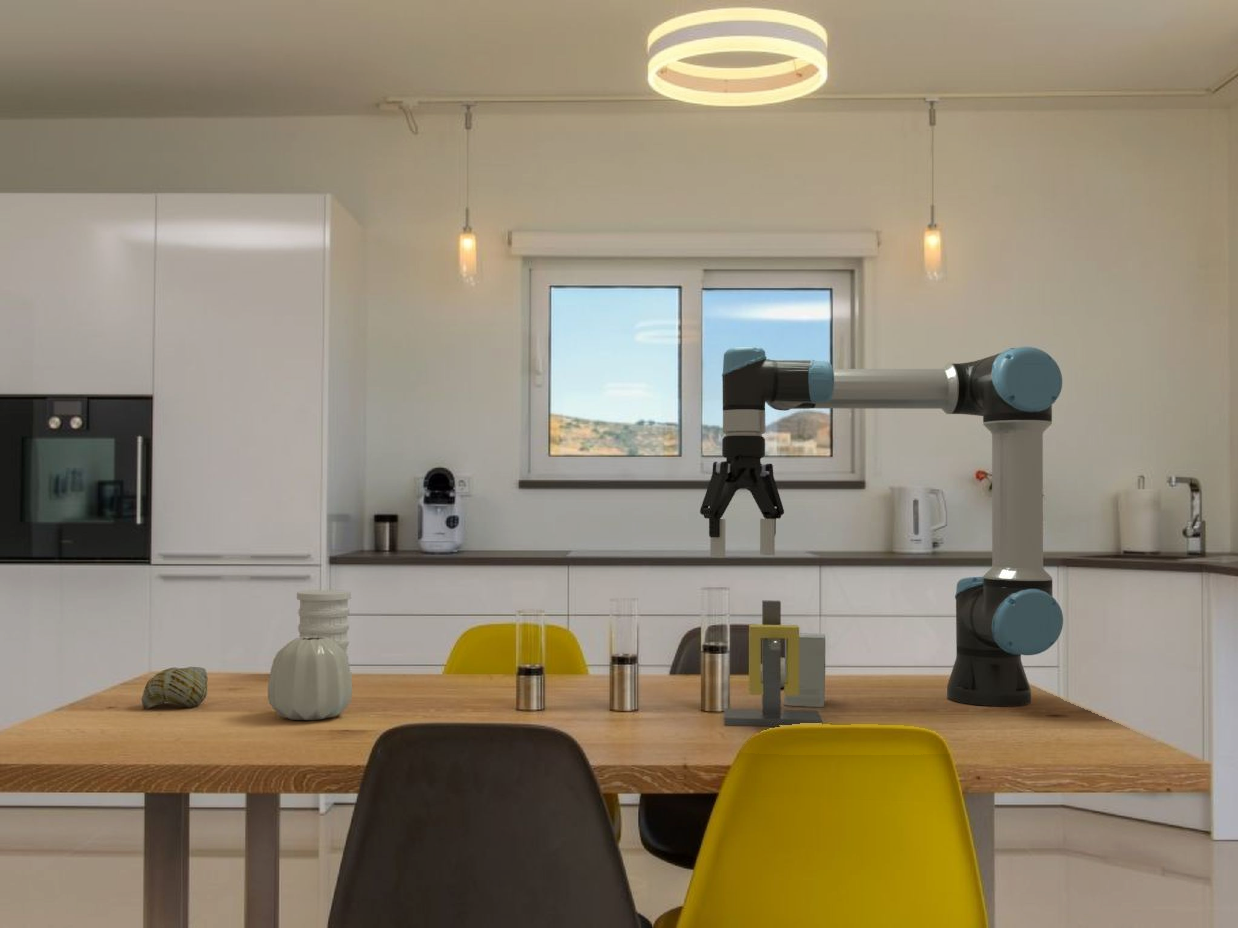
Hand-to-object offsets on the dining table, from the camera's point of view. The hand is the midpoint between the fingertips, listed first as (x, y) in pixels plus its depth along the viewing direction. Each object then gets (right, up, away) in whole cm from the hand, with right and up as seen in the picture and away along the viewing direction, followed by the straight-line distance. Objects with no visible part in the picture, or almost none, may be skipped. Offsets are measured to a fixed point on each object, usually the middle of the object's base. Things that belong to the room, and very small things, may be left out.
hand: (743, 556), depth 200 cm
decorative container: (-83, -28, +34) cm, 94 cm away
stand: (+4, -27, -12) cm, 30 cm away
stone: (+11, -29, +31) cm, 44 cm away
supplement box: (+13, -28, +10) cm, 32 cm away
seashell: (-101, -27, +2) cm, 104 cm away
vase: (-74, -27, -7) cm, 79 cm away
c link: (+4, -21, -13) cm, 25 cm away
